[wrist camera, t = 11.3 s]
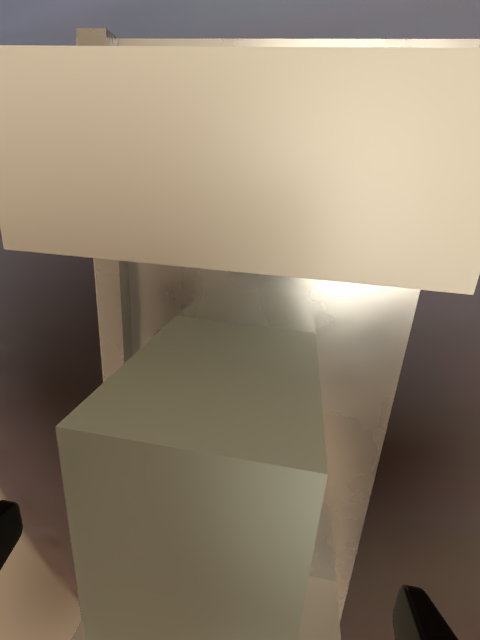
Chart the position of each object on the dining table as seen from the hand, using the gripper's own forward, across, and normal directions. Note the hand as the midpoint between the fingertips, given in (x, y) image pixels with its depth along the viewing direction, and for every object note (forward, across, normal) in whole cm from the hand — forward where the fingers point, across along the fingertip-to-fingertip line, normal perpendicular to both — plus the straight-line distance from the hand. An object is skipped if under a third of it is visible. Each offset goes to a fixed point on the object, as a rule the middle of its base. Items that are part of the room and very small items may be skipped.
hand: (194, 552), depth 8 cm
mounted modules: (+6, 0, 0) cm, 6 cm away
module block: (+5, 0, 0) cm, 5 cm away
